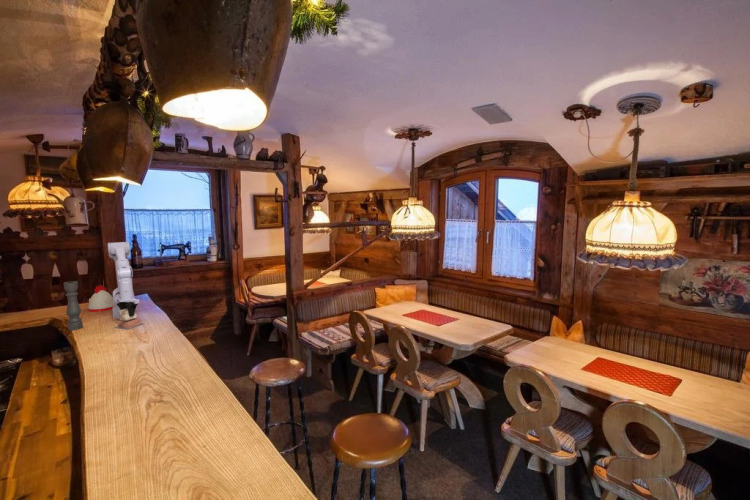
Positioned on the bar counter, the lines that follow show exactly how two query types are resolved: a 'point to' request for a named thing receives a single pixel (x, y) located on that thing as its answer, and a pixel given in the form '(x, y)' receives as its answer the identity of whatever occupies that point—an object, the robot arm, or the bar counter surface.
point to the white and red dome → (100, 300)
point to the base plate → (128, 328)
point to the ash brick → (126, 315)
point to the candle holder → (73, 306)
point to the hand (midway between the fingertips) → (128, 315)
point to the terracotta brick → (128, 323)
